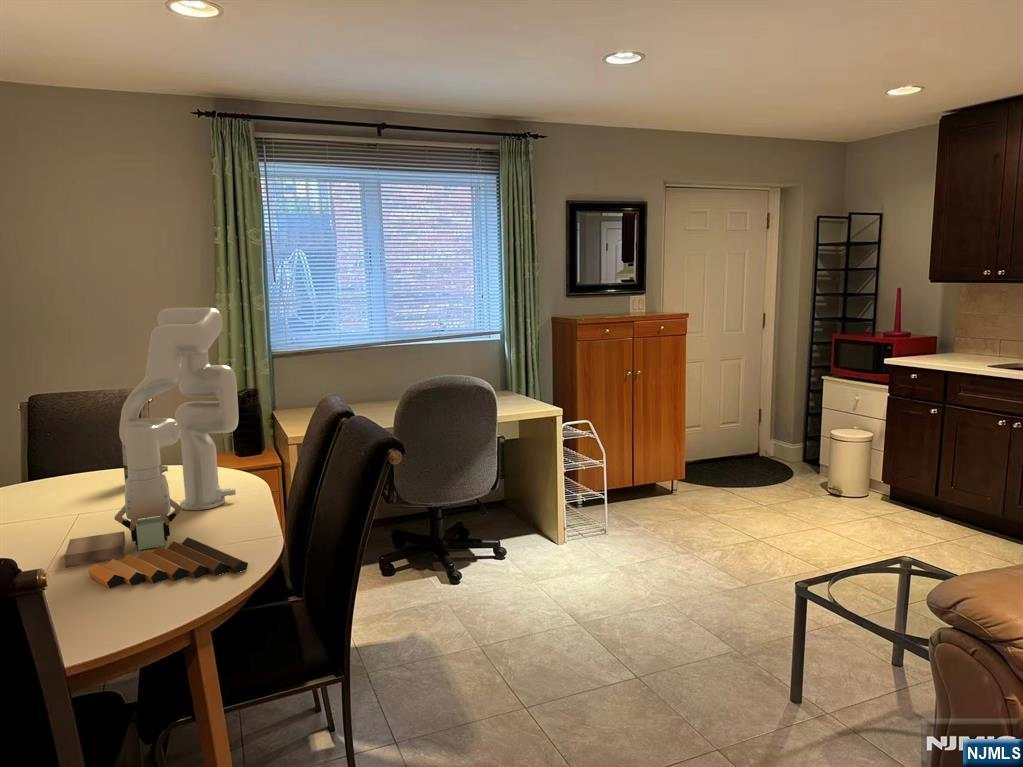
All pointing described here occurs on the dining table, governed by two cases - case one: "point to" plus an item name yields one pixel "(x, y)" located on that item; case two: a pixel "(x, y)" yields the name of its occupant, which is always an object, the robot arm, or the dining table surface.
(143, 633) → the dining table surface
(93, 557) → the walnut stand
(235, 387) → the robot arm
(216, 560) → the pan flute
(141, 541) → the sage cube
